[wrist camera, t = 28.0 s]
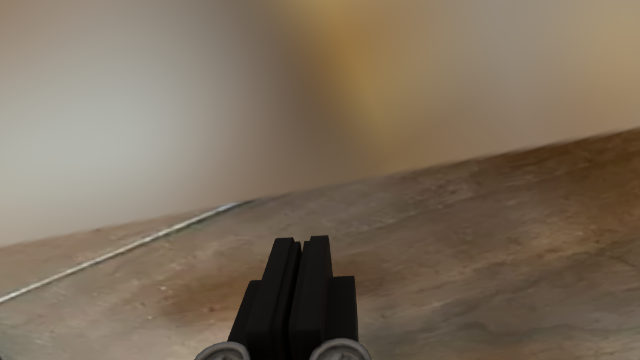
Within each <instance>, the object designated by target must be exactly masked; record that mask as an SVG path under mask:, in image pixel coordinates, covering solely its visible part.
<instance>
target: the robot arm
mask: <svg viewBox="0 0 640 360" xmlns="http://www.w3.org/2000/svg"><path fill="white" fill-rule="evenodd" d="M194 360H371V357H370V355H369V352H368V350H367V349H366V348H365V347H364V346H363V345H362V344H360V343H359V342H358V318H357V302H356V289H355V278H354V276H338V277H333V272H332V262H331V253H330V244H329V236H328V235H325V236H311V238H310V241H304V246H303V251H302V250H301V244H300V241H299V242H294V238H293V237H290V238H276V239H275V241H274V244H273V247H272V250H271V253H270V256H269V259H268V262H267V265H266V268H265V271H264V274H263V277H262V280H252V281H250V283H249V284H248V287H247V290H246V292H245V295H244V298H243V300H242V303H241V306H240V308H239V311H238V314H237V316H236V319H235V321H234V324H233V327H232V329H231V332H230V335H229V337H228V340H227V342H221V343H217V344H214V345H212V346H210V347H208V348H206V349H205V350H203V351H202V352H201V353H199V354H198V355H197V356H196V358H195V359H194Z"/></svg>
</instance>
